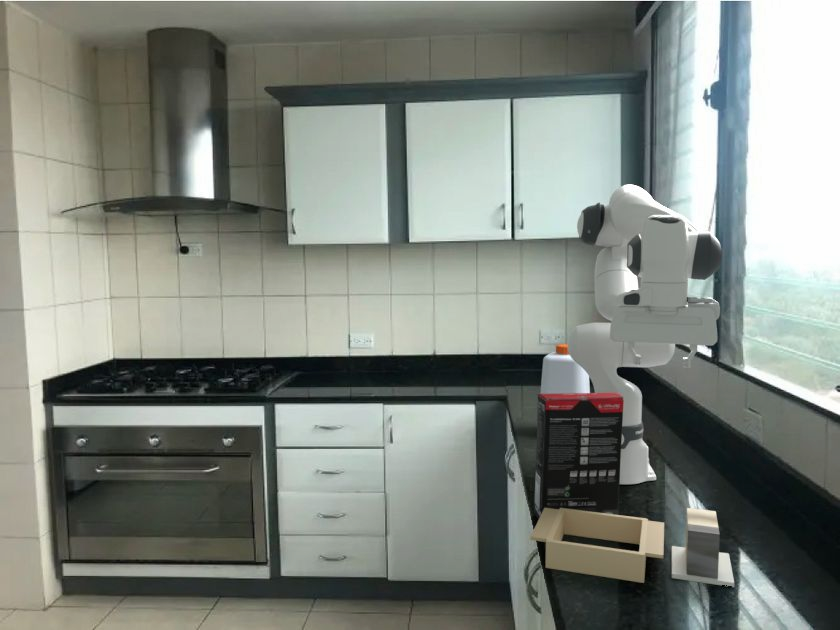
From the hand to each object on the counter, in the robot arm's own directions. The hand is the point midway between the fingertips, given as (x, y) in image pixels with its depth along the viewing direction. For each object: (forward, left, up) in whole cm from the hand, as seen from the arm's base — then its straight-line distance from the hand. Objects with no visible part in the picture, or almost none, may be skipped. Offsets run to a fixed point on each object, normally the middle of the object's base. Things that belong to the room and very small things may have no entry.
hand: (661, 365), depth 138 cm
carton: (+16, -10, -34) cm, 39 cm away
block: (+15, +8, -33) cm, 37 cm away
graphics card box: (0, -16, -34) cm, 38 cm away
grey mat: (+15, +8, -34) cm, 38 cm away
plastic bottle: (-66, -28, -34) cm, 80 cm away
